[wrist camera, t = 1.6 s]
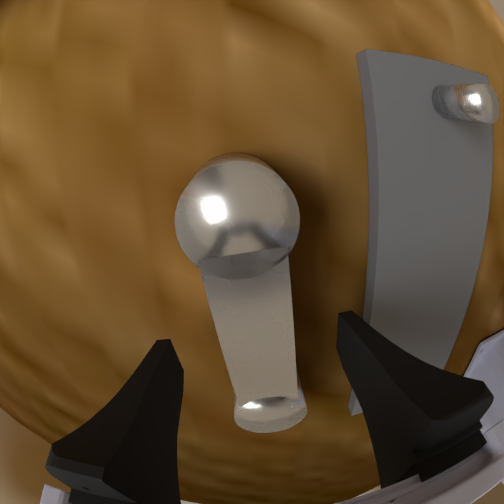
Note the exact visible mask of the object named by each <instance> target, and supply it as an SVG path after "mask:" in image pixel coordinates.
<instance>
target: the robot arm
mask: <svg viewBox="0 0 504 504" xmlns="http://www.w3.org/2000/svg"><path fill="white" fill-rule="evenodd" d="M336 348H337V351H338V354H339V357H340V360H341V364H342V367H343V369H344V371H345V373H346V375H347V378H348V380H349V382H350V384H351V386H352V388H353V390H354V393H355V395H356V397H357V399H358V401H359V404H360V406H361V408H362V411H363V414H364V417H365V420H366V423H367V427H368V430H369V434H370V437H371V441H372V445H373V449H374V453H375V458H376V462H377V467H378V473H379V478H380V485H381V489H380V490H377V491H375V492H372V493H368V494H366V495H362V496H359V497H356V498H353V499H349V500H346V501H342V502H338V503H334V504H389V503H390V504H472V503H473V502H474V501H476V500H477V499H479V498H480V497H482V496H483V495H484V494H486V493H487V492H488V491H489V490H491V489H492V488H493V487H495V486H496V485H497V484H498V483H499V482H502V483H503V485H504V330H502V331H500V332H499V333H497V334H495V335H493V336H491V337H489V338H487V339H486V340H484V341H482V342H481V343H480V344H479V345H478V348H477V350H476V352H475V354H474V356H473V358H472V360H471V362H470V364H469V366H468V368H467V370H466V372H465V374H464V376H460V375H457V374H454V373H450V372H448V371H445V370H442V369H440V368H437V367H435V366H433V365H431V364H428V363H426V362H424V361H422V360H420V359H418V358H417V357H415V356H413V355H411V354H409V353H408V352H406V351H404V350H403V349H401V348H400V347H398V346H397V345H395V344H394V343H392V342H391V341H390V340H388V339H387V338H386V337H384V336H383V335H382V334H380V333H379V332H378V331H376V330H375V329H374V328H373V327H371V326H370V325H369V324H368V323H367V322H365V321H364V320H363V319H362V318H360V317H359V316H358V315H357V314H356V313H354V312H353V311H352V310H351V311H346V312H342V313H338V330H337V345H336ZM183 383H184V370H183V368H182V366H181V363H180V361H179V359H178V357H177V354H176V352H175V350H174V347H173V345H172V342H171V340H170V339H164V340H157V341H156V342H155V344H154V345H153V346H152V348H151V349H150V351H149V352H148V354H147V355H146V356H145V358H144V359H143V361H142V362H141V364H140V365H139V366H138V368H137V369H136V370H135V372H134V373H133V375H132V376H131V377H130V378H129V380H128V381H127V382H126V383H125V385H124V386H123V387H122V388H121V390H120V391H119V392H118V393H117V394H116V395H115V396H114V397H113V399H112V400H111V401H110V402H109V403H108V404H107V405H106V406H105V407H104V408H102V409H101V410H100V411H99V412H98V413H97V414H96V415H94V416H93V417H92V418H91V419H90V420H89V421H87V422H86V423H85V424H83V425H82V426H81V427H79V428H78V429H76V430H75V431H73V432H72V433H70V434H69V435H67V436H65V437H63V438H62V439H60V440H58V441H56V442H55V443H53V444H52V446H51V450H50V453H49V456H48V459H47V462H46V466H45V468H46V470H47V471H48V472H49V473H50V474H51V475H52V476H54V477H55V478H57V479H58V480H60V481H61V482H63V483H64V484H66V485H67V486H69V487H70V488H71V493H69V492H66V491H64V490H62V489H59V488H56V487H53V486H50V485H48V484H45V485H44V490H43V493H42V498H41V502H40V504H181V502H180V493H179V483H178V469H177V433H178V425H179V418H180V411H181V404H182V397H183Z"/></svg>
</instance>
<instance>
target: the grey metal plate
mask: <svg viewBox="0 0 504 504" xmlns="http://www.w3.org/2000/svg"><path fill="white" fill-rule="evenodd" d="M356 56H357V62H358V68H359V75H360V82H361V89H362V97H363V106H364V115H365V126H366V138H367V154H368V177H369V237H368V260H367V276H366V289H365V300H364V310H363V320H364V321H365V322H367V323H368V324H369V325H370V326H371V327H373V328H374V329H375V330H376V331H378V332H379V333H380V334H382V335H383V336H384V337H386V338H387V339H388V340H390V341H391V342H392V343H394V344H395V345H397V346H398V347H400V348H401V349H403V350H404V351H406V352H408V353H409V354H411V355H413V356H415V357H417V358H418V359H420V360H422V361H424V362H426V363H428V364H431V365H433V366H435V367H437V368H440V369H442V370H444V367H445V365H446V363H447V361H448V358H449V356H450V354H451V351H452V349H453V346H454V344H455V341H456V339H457V336H458V333H459V331H460V328H461V325H462V322H463V319H464V316H465V313H466V310H467V307H468V304H469V301H470V298H471V294H472V291H473V287H474V283H475V280H476V276H477V272H478V268H479V263H480V259H481V254H482V249H483V244H484V239H485V233H486V227H487V221H488V214H489V205H490V196H491V185H492V168H493V125H492V124H493V123H495V122H496V121H497V120H498V118H499V114H500V105H499V100H498V97H497V94H496V92H495V91H494V89H493V88H492V87H491V86H490V85H489V81H488V76H486V75H483V74H480V73H477V72H474V71H471V70H468V69H465V68H461V67H458V66H454V65H451V64H447V63H443V62H439V61H435V60H430V59H426V58H421V57H416V56H411V55H405V54H399V53H393V52H386V51H378V50H369V49H365V50H363V51H361V52H359V53H357V54H356ZM348 407H349V409H350V412H351V415H356V414H359V413H363V411H362V408H361V406H360V404H359V401H358V399H357V397H356V395H355V393H354V390H353V388H352V390H351V395H350V400H349V405H348Z"/></svg>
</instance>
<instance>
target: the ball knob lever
mask: <svg viewBox="0 0 504 504" xmlns="http://www.w3.org/2000/svg"><path fill="white" fill-rule="evenodd" d="M299 227H300V213H299V207H298V204H297V201H296V198H295V196H294V194H293V192H292V191H291V189H290V188H289V186H288V185H287V184H286V183H285V182H284V180H283V179H282V178H281V177H280V176H279V175H278V174H277V173H276V172H275V171H274V170H273V169H272V168H271V167H270V166H269V165H268V164H267V163H266V162H264V161H263V160H261V159H260V158H258V157H255V156H253V155H250V154H246V153H237V152H234V153H226V154H222V155H219V156H217V157H215V158H213V159H211V160H209V161H208V162H206V163H205V164H204V165H203V166H202V167H201V168H200V169H199V170H198V172H197V173H196V174H195V176H194V177H193V178H192V180H191V181H190V183H189V184H188V185H187V187H186V188H185V190H184V191H183V193H182V195H181V197H180V199H179V202H178V204H177V208H176V213H175V230H176V235H177V238H178V242H179V244H180V246H181V248H182V250H183V251H184V253H185V254H186V256H187V257H188V258H189V259H190V261H191V262H193V263H194V264H195V265H196V266H197V267H198V268H200V271H201V275H202V279H203V283H204V287H205V291H206V294H207V298H208V302H209V306H210V309H211V313H212V317H213V320H214V324H215V328H216V331H217V335H218V338H219V342H220V345H221V349H222V352H223V355H224V359H225V362H226V365H227V369H228V372H229V375H230V378H231V382H232V385H233V394H234V419H235V422H236V423H237V425H238V426H240V427H241V428H243V429H245V430H248V431H252V432H258V433H270V432H277V431H281V430H285V429H288V428H290V427H292V426H294V425H296V424H298V423H299V422H300V421H301V420H302V419H303V418H304V417H305V415H306V413H307V407H306V403H305V399H304V395H303V391H302V387H301V383H300V379H299V375H298V371H297V367H296V355H295V338H294V323H293V308H292V295H291V283H290V271H289V259H288V254H289V253H290V252H291V250H292V248H293V246H294V244H295V242H296V240H297V237H298V233H299Z"/></svg>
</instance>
